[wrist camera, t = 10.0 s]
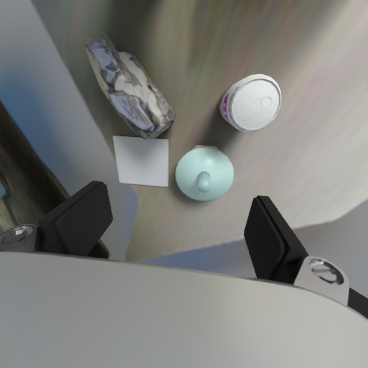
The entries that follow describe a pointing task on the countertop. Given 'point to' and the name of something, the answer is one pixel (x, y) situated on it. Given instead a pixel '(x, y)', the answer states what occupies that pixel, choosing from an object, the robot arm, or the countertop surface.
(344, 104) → the countertop surface
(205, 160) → the lid
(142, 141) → the mat
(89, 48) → the fossil rock
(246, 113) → the supplement can
